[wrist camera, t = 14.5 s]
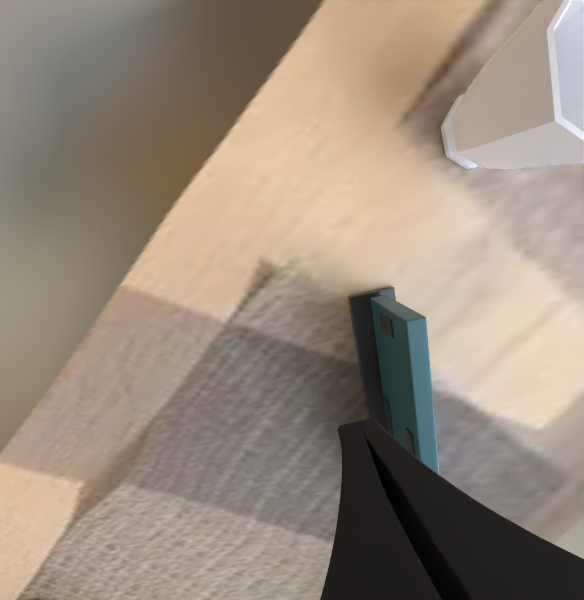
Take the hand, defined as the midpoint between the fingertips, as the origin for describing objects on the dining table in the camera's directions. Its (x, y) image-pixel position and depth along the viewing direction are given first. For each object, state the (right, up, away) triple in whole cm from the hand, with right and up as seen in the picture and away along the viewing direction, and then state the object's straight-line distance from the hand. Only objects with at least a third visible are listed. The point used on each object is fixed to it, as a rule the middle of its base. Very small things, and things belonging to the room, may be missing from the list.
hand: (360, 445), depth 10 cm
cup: (+10, +16, +7) cm, 20 cm away
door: (+4, 0, +9) cm, 10 cm away
